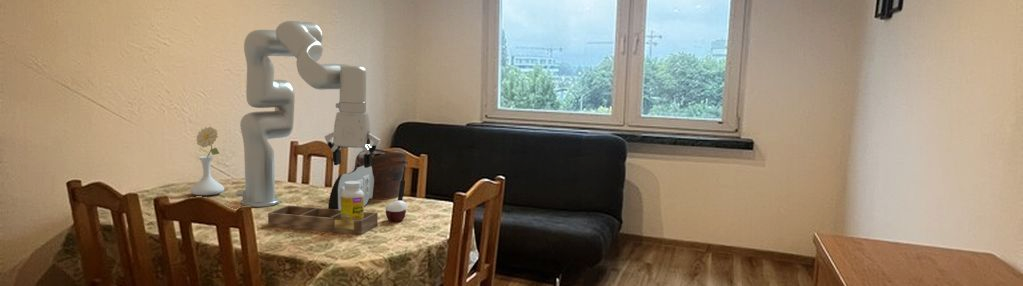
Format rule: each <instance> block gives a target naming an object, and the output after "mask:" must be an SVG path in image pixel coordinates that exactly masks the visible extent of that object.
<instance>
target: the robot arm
mask: <svg viewBox="0 0 1023 286" xmlns="http://www.w3.org/2000/svg"><path fill="white" fill-rule="evenodd" d="M323 38H324V37H323V31H322V30H321V28H320V26H319V25H317V24H316V23H314V22H310V21H301V20H300V21H297V20H286V21H283V22H281V23H280V24H279V25H278V26H277V27H276V29H255V30H252V31H250V32H249V33H248V34H247V35H246V37H245V39H244V43H243V52H244V57H245V61H246V62H245V63H246V91H245V94H246V102H247V104H248V106H250V107H251V108H256V109H257V108H258V109H267V108H268V109H269V108H274V110H268V111H267V110H264V111H252V112H249V113H246V114H245V115H243V116H242V118H241V119H240V132H241V136H242V141H243V142H242V143H243V152H244V153H243V154H244V185H245V188H244V189H238V190H237V192H236V193H235V194H236V195H235V196H237V197H242V199H241V200H240V205H242V206H244V207H249V206H250V207H251V208H256V207H257V208H258V207H262V208H263V207H271V206H274V205H278V204H279V203H280V201H281V199H280V197H276V191H275V190H276V186H275V185H276V183H275V180H276V178H275V176H276V175H275V151H274V149H273V147H272V145H271V144H270V142H269V141H268V140H272V139H280V138H281V139H282V138H286V137H288V136H290V135H291V134H292V133H293V130H294V121H295V120H294V119H295V102H296V100H295V99H296V98H295V90H294V87H293V85H292V84H291V83H290V82H289V81H287V80H286V79H275V66H274V64H273V62H272V60H271V58H270V57H289V58H290V57H292V58H293V57H295V59H296V68H297V72H298V75H299V77H300V78H301V79H302V80H303V81H304V82H305V83H306V84H307V85H308V86H310V87H311V88H313V89H315V90H322V91H323V90H339V101H338V103H335V108H336V109H338V111H337V112H336V114H335V118H334V119H335V120H334V123H333V124H334V125H333V131H332V132H331V133H329V134H326V135H324V139H325V141H326V143H327V146H328V148H329V149H330V150H331V152H332V161H333V165H334V166H338V165H342V151H341V148H342V147H343V148H355V149H357V148H358V149H361V148H362V151H363V150H364V151H365V152H366V154H365V155H364V167H365V168H368V167H370V166H371V164H372V153H373V152H374V151H375V150H376V149H379V148H378V147H379V145H380V143H381V142H382V141H381V140H382V139H380V138H378V137H377V136H375V135H374V134H372V133H371V125H370V119H369V118H370V117H369V113H367V69H366V68H365V67H363V66H362V65H360V66H359V65H350V64H345V63H344V64H343V63H319V62H318V61H319V60H320V58H321V57H322V55H323V53H324V50H323V49H324V48H323V45H322V42H323ZM371 141H372V142H373V144H372V146H371V145H370V144H371Z"/></svg>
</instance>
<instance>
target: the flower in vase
mask: <svg viewBox="0 0 1023 286" xmlns="http://www.w3.org/2000/svg"><path fill="white" fill-rule="evenodd" d="M218 137H219V136H218V130H217V129H216V128H214V127H212V126H208V127H207V126H206V127H204V129H203V128H202V129H200V131H199V132H198V134H197V135H196V145H198V146H199V149H200V150H201V151H203V152H205V153H206V154H207V155H201V156H198V159H199V160H200V161H201V164H202V171H203V173H202V177H201V178H200V179H199V180H198V181H197V182H195V184H194V185H192V186H191V188H189V192H190V193H191V194H193V195H196V196H214V195H217V194H220V193H223V192H224V190H225V187H224V186H223V185H222V184H221V183H220V182H218V181H217V180H216V179H214V178H213V177H212V174H211V165H212V164H211V163H212V160H213V159H214V158H215V155H218V154H219V155H220V151H219V150H218V148H216V147H214V148H213V145H214V144H215V142H216V141H217V138H218ZM208 146H209V147H210V150H209V151H207V150H205V149H204V148H207V147H208ZM210 154H211V155H210Z"/></svg>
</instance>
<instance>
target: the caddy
mask: <svg viewBox="0 0 1023 286" xmlns="http://www.w3.org/2000/svg"><path fill="white" fill-rule="evenodd" d="M267 217H268V218H267V226H268V227H272V228H283V229H295V230H297V229H298V230H304V231H305V230H306V231H317V232H325V233H326V232H327V233H328V232H329V233H339V234H347V235H348V234H350V235H351V234H352V235H358V236H359V235H364V234H366V233H367V232H369V231H371V230H372V229H373V228H376V227H378V212H373V211H372V212H369V211H364V219H362V220H349V219H341V210H338V209H328V208H325V207H324V208H323V207H322V208H321V207H315V206H314V207H311V206H300V205H286V206H284V207H281V208H278V209H276V210H273V211H270V212H267Z"/></svg>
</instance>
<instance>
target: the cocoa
mask: <svg viewBox="0 0 1023 286" xmlns="http://www.w3.org/2000/svg"><path fill="white" fill-rule="evenodd" d="M405 185H406V180H404V179H402V180H401V181H400V188H399V194H398V196H397V200H394V201H391V202H389V203H388V204H386V205H385V215H386V219H387V220H388V221H389V222H393V223H399V222H402V221H403V220H404V219H405V217H406V211H407V208H408V206H407V203H406V202H405V201H404V200H403V199H404V191H405V188H406V187H405Z"/></svg>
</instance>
